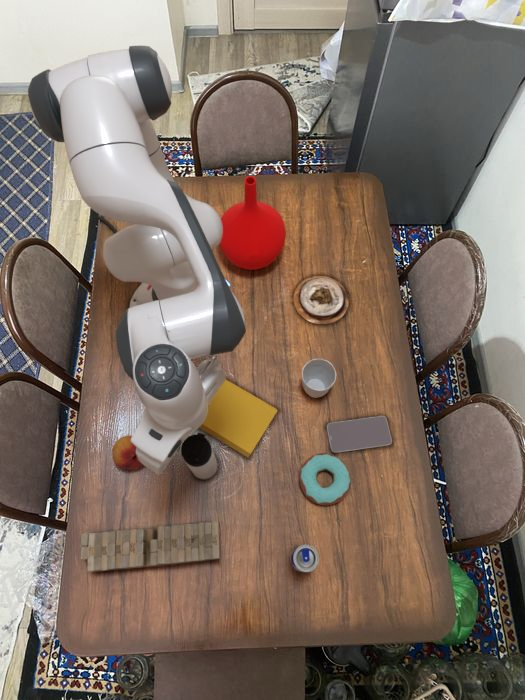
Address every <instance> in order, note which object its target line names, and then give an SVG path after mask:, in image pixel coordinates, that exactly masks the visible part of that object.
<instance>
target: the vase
mask: <svg viewBox="0 0 525 700" xmlns="http://www.w3.org/2000/svg"><path fill="white" fill-rule="evenodd" d="M257 192H258V191H257V179H256V177H255V176H253V175H248V176H246V177H245V178H244V201H241V202H238V203H236V204H233V205H232V206H229V208H227V210H225V211H224V213H223V214H222V216H220V219H221V221H222V225H223V235H222V239H221V242H220V244H219V245H218V246H219V248H220V250H221V252H222V253H223V254H224V255H225V257H226V258H227V259H228V260H229V262H230V263H232V264H233V265H234V266H236V267H238V268H241V269H245V270H259V269H262V268H263V269H264V268H266V267H268V266H269V265H271V264H272V263H273V262H274V261H276V260H277V258H278V257H279V255H280V254H281V253H282V251H283V248H284V247H285V243H286V238H287V237H286V236H287V231H286V225H285V222H284V220H283V217H282V216H281V213H280V212H278V210H277V209H276V208H274V207H273V206H271V205H270V204H269V203H268V204H267V203H265V202H262V201H258V193H257Z"/></svg>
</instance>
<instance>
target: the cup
mask: <svg viewBox="0 0 525 700" xmlns="http://www.w3.org/2000/svg"><path fill="white" fill-rule="evenodd" d="M336 380H337V371H336V368H335V366H334V365H333V364H332V363H331V362H330V361H328V360H327V359H324V358H313V359H311V360H308V361H307V362H306V363H305V365H304V366H303V367H302V370H301V385H302V388H303V390H304V392H305V393H306V394H307V395H308V396H309V397H311V398H322V397H324V396H325V395H326V394H327V393H328V392H330V390H331V389H332V388H333V386H334V385H335V382H336Z"/></svg>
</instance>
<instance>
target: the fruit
mask: <svg viewBox="0 0 525 700" xmlns="http://www.w3.org/2000/svg"><path fill="white" fill-rule="evenodd" d="M131 437H132V435H125V436H122V437H120V438H119V439H117V440H116V441H115V443H114V444H113V447H112V449H111V450H112V451H111V452H112V455H111V456H112V460H113V463H114V464H115V466H117V467H119V468H121V469H126V470H136V469H139V468H140V467H142V466H144V465H143V464H142V463H141V462H140V461H139V459H138V457H137V455H136V446H135V445H133V444H132V443H131Z"/></svg>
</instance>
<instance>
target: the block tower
mask: <svg viewBox="0 0 525 700" xmlns="http://www.w3.org/2000/svg"><path fill="white" fill-rule="evenodd" d="M220 537H221V536H220V522H219V521H218V520H213V521H206V522H198V523H196V522H195V523H185V524H175V525H173V524H172V525H168V526H167V525H166V526H165V525H158V526H157V529H155V528H147V529H144V528H131V529H120V530H111V531H102V532H100V531H99V532H90V533H88V532H83V533H81V537H80V538H81V539H80V546H81V547H80V559H81V560H86V561H87V566H86V571H87V572H105V571H107V572H108V571H112V570H130V569H139V568H140V569H141V568H150V567H163V566H168V565H180V564H182V565H183V564H190V563H197V562H204V561H213V560H214V561H215V560H220V559H221V542H220Z"/></svg>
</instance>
